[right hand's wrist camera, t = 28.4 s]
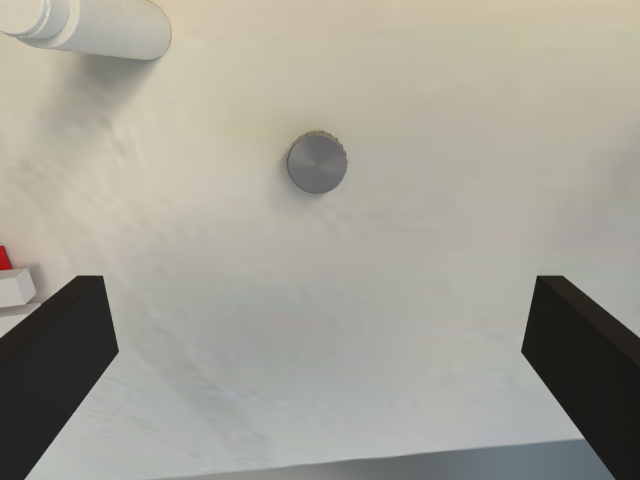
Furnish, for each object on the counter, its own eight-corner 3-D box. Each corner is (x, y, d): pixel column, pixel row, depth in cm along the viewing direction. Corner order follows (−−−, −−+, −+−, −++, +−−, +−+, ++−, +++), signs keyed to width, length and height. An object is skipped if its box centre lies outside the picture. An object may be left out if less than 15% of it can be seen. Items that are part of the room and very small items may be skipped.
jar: (162, 69, 35) (42, 62, 20) (109, 44, 34) (-57, 17, 19) (178, 15, 33) (63, -38, 18) (124, -13, 33) (-43, -91, 18)
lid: (303, 120, 36) (302, 122, 34) (356, 146, 37) (358, 150, 35) (279, 172, 38) (277, 178, 36) (330, 196, 39) (330, 204, 36)
